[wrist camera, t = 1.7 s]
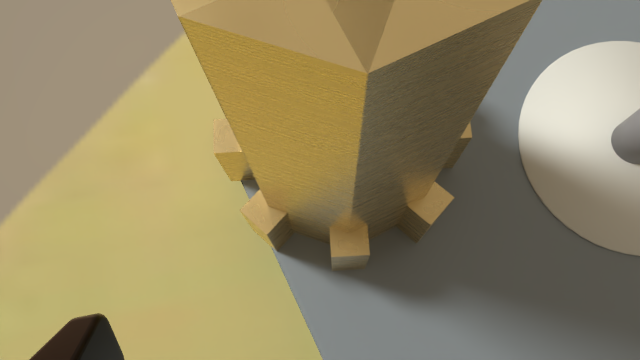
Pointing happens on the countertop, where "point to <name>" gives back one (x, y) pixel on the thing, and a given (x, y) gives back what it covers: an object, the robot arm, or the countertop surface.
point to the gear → (348, 107)
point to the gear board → (511, 218)
